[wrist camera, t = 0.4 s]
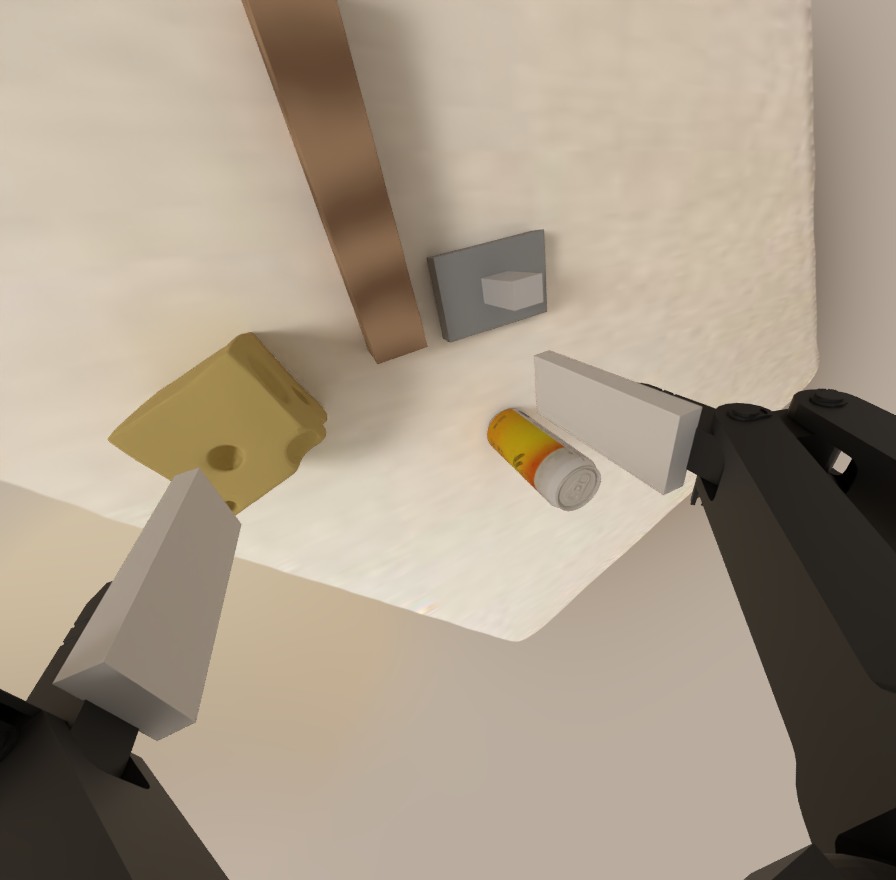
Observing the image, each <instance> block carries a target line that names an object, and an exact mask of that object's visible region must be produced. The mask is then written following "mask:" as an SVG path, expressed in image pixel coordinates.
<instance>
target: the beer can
mask: <svg viewBox="0 0 896 880" xmlns="http://www.w3.org/2000/svg"><path fill="white" fill-rule="evenodd" d="M487 438H488V441H489V443H490V445H491V446H492V447H493V448H494V449H495V450H496V451H497V452H498V453H499V454H500V455H501V456H502V457H503V458H504V459H505V460H506V461H507V462H508V463H509V464H510V465H511V466H512V467H513V468H514V469H515V470H516V471H518V472H519V473H520V474H521V475H522V476H523V477H524V478H525V479H526V480H527V481H528V482H529V483H530V484H531V485H532V486H533V487H534V488H535V489H536V490H537V491H538V492H539V493H540V494H541V495H542V496H543V497H544V498H545V499H546V500H547V501H548V502H549V503H550V504H551V505H552V506H554V507H558V508H561V509H562V510H565V511H573V510H576V509H579V508H581V507H582V506H584V505H585V504H587V503H588V502H589V501H590V500H591V499H592V498H593V497H594V495H595V494H596V492H597V490H598V488H599V486H600V482H601V475H600V472H599V471H598V470H597V468H596V466H595V464H594V462H593V461H592V460H591V459H589V458H588V457H586V456H585V455H583V454H582V453H581V452H579V451H578V450H576V449H575V448H573V447H572V446H570V445H569V444H568V443H566V442H565V441H563V440H562V439H560V438H559V437H558V436H556V435H555V434H553V433H552V432H550V431H549V430H548V429H546V428H545V427H543V426H542V425H540V424H539V423H537V422H536V421H535V420H533V419H532V418H530V417H529V416H527V415H526V414H525V413H523V412H522V411H520V410H518V409H507V410H504V411H502V412H500V413H498V414H497V415H496V416H495V417H494V418H493V419H492V420H491V422H490V424H489V427H488V432H487Z"/></svg>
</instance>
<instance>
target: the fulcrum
mask: <svg viewBox="0 0 896 880" xmlns="http://www.w3.org/2000/svg"><path fill="white" fill-rule="evenodd" d="M427 261H428V266H429V271H430V276H431V281H432V286H433V290H434V295H435V300H436V305H437V310H438V315H439V320H440V325H441V329H442V334H443V339H445V340H447V341H448V342H453V341H456V340H459V339H462V338H466V337H469V336H472V335H475V334H478V333H481V332H484V331H488V330H491V329H494V328H497V327H500V326H503V325H506V324H510V323H513V322H516V321H519V320H522V319H525V318H528V317H532V316H535V315H538V314H541V313H544V312H547V298H546V271H545V243H544V229H543V230H535V231H530V232H526V233H522V234H518V235H514V236H510V237H506V238H503V239H499V240H495V241H491V242H487V243H483V244H479V245H475V246H471V247H467V248H464V249H460V250H456V251H452V252H448V253H444V254H440V255H436V256H432V257H428V258H427Z"/></svg>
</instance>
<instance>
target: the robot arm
mask: <svg viewBox="0 0 896 880" xmlns="http://www.w3.org/2000/svg"><path fill="white" fill-rule="evenodd" d="M534 365H535V385H536V404H537V413H538V414H540V415H542V416H543V417H545V418H546V419H548V420H549V421H551V422H552V423H554V424H555V425H557V426H558V427H560V428H561V429H563V430H564V431H566V432H568V433H569V434H571V435H572V436H574V437H575V438H577V439H578V440H580V441H581V442H583V443H584V444H586V445H587V446H589V447H591V448H592V449H594V450H595V451H597V452H598V453H600V454H601V455H603V456H604V457H606V458H607V459H609V460H610V461H612V462H613V463H615V464H617V465H618V466H620V467H621V468H623V469H624V470H626V471H627V472H629V473H630V474H632V475H633V476H635V477H636V478H638V479H639V480H641V481H643V482H644V483H646V484H647V485H649V486H650V487H652V488H653V489H655V490H656V491H658V492H659V493H661V494H662V495H665V494H667V493H669V492H671V491H673V490H675V489H677V488H680V487H682V486H683V484H684V480H685V476H686V472H687V470H689V471H691V472H693V473H695V474H696V475H697V478H696V482H695V485H694V489H693V493H692V496H691V505H695V503H696V500H697V498H698V497H700V498H701V501H702V504H701V505H702V506H703V507H704V509H705V512H706V515H707V517H708V520H709V523H710V525H711V528H712V531H713V534H714V536H715V539H716V541H717V544H718V547H719V550H720V552H721V555H722V557H723V560H724V563H725V566H726V568H727V571H728V574H729V576H730V579H731V581H732V584H733V587H734V590H735V592H736V595H737V598H738V601H739V603H740V606H741V609H742V611H743V614H744V616H745V619H746V622H747V625H748V627H749V630H750V633H751V635H752V638H753V641H754V643H755V646H756V649H757V651H758V654H759V656H760V659H761V662H762V665H763V667H764V670H765V673H766V675H767V678H768V681H769V683H770V686H771V688H772V692H773V694H774V697H775V700H776V702H777V705H778V708H779V710H780V713H781V715H782V718H783V720H784V724H785V726H786V729H787V732H788V734H789V737H790V740H791V742H792V745H793V749H794V752H795V758H796V790H797V796H798V802H799V805H800V809H801V812H802V816H803V819H804V822H805V825H806V828H807V831H808V834H809V836H810V839H811V842H812V844H811V845H808V846H807V847H804V848H803V849H800V850H798V851H796V852H794V853H792V854H790V855H788V856H786V857H784V858H782V859H780V860H778V861H776V862H773V863H771V864H770V865H768V866H765V867H763V868H761V869H759V870H757V871H755V872H753V873H751V874H750V875H749V876H748V877H746V878H745V879H744V880H896V415H894V414H891V413H890V412H888V411H886V410H883V409H881V408H879V407H877V406H875V405H873V404H871V403H869V402H867V401H865V400H862V399H860V398H858V397H855V396H853V395H850V394H847V393H843V392H838V391H836V390H832V389H828V390H826V389H816V390H804V391H800V392H798V393H796V394H795V395H794V396H793V399H792V401H791V404H790V406H789V409H784V410H778V411H771V410H769V409H767V408H764V407H761V406H757V405H752V404H744V403H732V404H725V405H722V406H719V407H718V408H717V409H715V408H713V407H710V406H707V405H704V404H702V403H699V402H696V401H693V400H691V399H688V398H685V397H682V396H680V395H677V394H676V395H674V394H673V393H671V392H668V391H666V390H664V391H662V389H660V388H657V387H655V386H652V385H649V384H644V383H638V382H634V381H631V380H629V379H626V378H623V377H620V376H618V375H615V374H612V373H610V372H607V371H604V370H601V369H599V368H596V367H593V366H591V365H588V364H585V363H582V362H580V361H577V360H574V359H572V358H569V357H566V356H564V355H561V354H558V353H555V352H553V351H550V350H549V351H546V352H543V353H540V354H537V355H534ZM841 451H843V452H844V453H845V454H847V455H848V456H850V457H851V458H852V460H851V462H850V463H849V465H848V467H847V469H846V470H845V471H844V473H843V474H842V473H840V472H838V471H836V470H835V469H834V468H832V467H833V465H834V463H835V462H836V460H837V458H838V456H839V454H840V452H841ZM240 528H241V523H240V522H239V520H238V519H237V518H236V516H235V515H234V514H233V512H232V511H231V509H230V508H229V507H228V505H227V504H226V503H225V501H224V500H223V499H222V497H221V496H220V495H219V493H218V492H217V490H216V489H215V488H214V486H213V485H212V484H211V482H210V481H209V480H208V478H207V477H206V476H205V474H204V473H203V471H202V470H201V469H200V467H199V468H196V469H193V470H190V471H187V472H184V473H181V474H178V475H175V476H174V478H173V479H172V481H171V483H170V485H169V486H168V488H167V490H166V491H165V493H164V495H163V496H162V498H161V500H160V502H159V503H158V505H157V507H156V508H155V510H154V512H153V513H152V515H151V517H150V519H149V520H148V522H147V524H146V525H145V527H144V529H143V530H142V532H141V534H140V536H139V537H138V539H137V541H136V542H135V544H134V546H133V548H132V549H131V551H130V553H129V554H128V556H127V558H126V559H125V561H124V563H123V564H122V566H121V568H120V570H119V571H118V573H117V575H116V576H115V578H114V580H113V581H111V582H108V583H106V584H105V585H104V586H103V587H102V589H101V590H100V591H99V592H98V593H97V594H96V595H95V596H94V597H93V598H92V599H91V600H90V601H89V602H88V603H87V604H86V606H85V607H84V609H83V611H82V612H81V614H80V615H79V617H78V619H77V620H76V622H75V623H74V625H75V627H74V628H71V630H70V631H69V633H68V635H67V636H66V638H65V639H64V641H63V642H64V645H62V646H60V647H59V649H58V651H57V652H56V654H55V656H54V657H53V659H52V660H51V662H50V663H49V665H48V667H47V668H46V670H45V671H44V673H43V675H42V676H41V678H40V680H39V681H38V683H37V684H36V686H35V687H34V689H33V691H32V692H31V694H30V695H29V697H28V699H27V700H26V701H24V700H22V699H20V698H18V697H16V696H14V695H12V694H10V693H8V692H6V691H3V690H1V689H0V880H229V879H228V878H227V876H226V875H225V873H224V872H223V871H222V869H221V868H220V867H219V865H218V864H217V862H216V861H215V860H214V858H213V857H212V855H211V854H210V853H209V851H208V850H207V848H206V847H205V845H204V844H203V843H202V841H201V840H200V838H199V837H198V836H197V834H196V833H195V832H194V830H193V829H192V827H191V826H190V825H189V824H188V822H187V820H186V819H185V818H184V816H183V815H182V813H181V812H180V811H179V809H178V808H177V806H176V805H175V804H174V802H173V801H172V800H171V798H170V797H169V795H168V794H167V793H166V791H165V790H164V788H163V787H162V786H161V784H160V783H159V781H158V780H157V779H156V777H155V776H154V775H153V773H152V772H151V770H150V769H149V768H148V766H147V765H146V763H145V762H144V761H143V759H142V758H141V757H139V756H137V755H135V754H133V753H131V751H132V748H133V745H134V742H135V739H136V736H137V734H138V731H140V732H142V733H143V734H145V735H147V736H149V737H151V738H153V739H154V740H156V741H158V740H160V739H162V738H165V737H167V736H168V735H171V734H173V733H175V732H177V731H179V730H181V729H183V728H185V727H187V726H189V725H191V724H193V723H195V722H196V720H197V715H198V711H199V707H200V702H201V698H202V693H203V689H204V684H205V680H206V676H207V672H208V667H209V663H210V659H211V654H212V650H213V645H214V641H215V637H216V632H217V628H218V623H219V619H220V615H221V610H222V606H223V602H224V597H225V593H226V588H227V584H228V580H229V576H230V571H231V567H232V563H233V558H234V554H235V550H236V545H237V541H238V537H239V532H240Z"/></svg>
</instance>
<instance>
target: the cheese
mask: <svg viewBox="0 0 896 880" xmlns="http://www.w3.org/2000/svg"><path fill="white" fill-rule="evenodd" d="M326 420H327V414H326V412H325V410H324V409H323V408H322V406H321V405H320V404H319V403H318V402H317V401H316V400H315V399H314V398H313V397H311V396H310V395H309V394H308V393H307V392H306V391H305V390H304V389H303V388H302V387H301V386H300V385H299V384H298V383H297V382H296V381H295V380H294V378H293V377H292V376H291V375H290V374H289V373H288V372H287V371H286V370H285V369H284V367H283V366H282V365H281V364H280V363H279V362H278V361H277V360H276V359H275V358H274V356H273V355H272V354H271V353H270V352H269V351H268V350H267V349H266V348H265V346H264V345H263V344H262V343H261V342H260V341H259V340H258V338H257V337H256V336H255V335H254V334H253V333H252V332H249V333H245V334H241V335H239V336H237V337H236V338H234V339H233V340H232V341H231V342H230V343H229V344H228V345H227V346H226V347H224V348H222V349H221V350H219V351H218V352H216V353H215V354H213V355H212V356H210V357H209V358H207V359H206V360H204V361H203V362H202V363H200V364H199V365H197V366H196V367H194V368H193V369H191V370H190V371H189V372H187V373H186V374H184V375H183V376H181V377H180V378H178V379H177V380H175V381H174V382H172V383H171V384H169V385H168V386H166V387H165V388H163V389H162V390H160V391H158V392H157V393H156V394H155V395H154V396H152V397H151V398H150V399H149V400H147V401H146V402H145V403H144V404H143V405H141V406H140V407H139V408H138V409H137V410H136V411H135V412H134V413H133V414H131V415H130V416H129V417H128V418H127V419H126V420H125V421H124V422H123V423H122V424H121V425H119V426H118V427H117V428H116V429H115V431H114V432H113V433H112V434H111V435H110V436H109V438H108V441H109V442H110V443H112V444H113V445H115V446H116V447H118V448H119V449H120V450H122V451H123V452H124V453H126V454H128V455H129V456H131V457H132V458H134V459H135V460H137V461H138V462H140V463H142V464H143V465H145V466H147V467H149V468H150V469H152V470H154V471H155V472H157V473H159V474H160V475H162V476H164V477H165V478H167V479H169V480H170V481H172V479H173V478H174V476H175V475H178V474H181V473H184V472H187V471H190V470H193V469H196V468H199V467H200V469H201V470H202V471H203V473H204V474H205V476H206V477H207V478H208V480H209V481H210V482H211V484H212V485H213V486H214V488H215V489H216V490H217V492H218V493H219V495H220V496H221V497H222V499H223V500H224V501H225V503H226V504H227V505H228V507H229V508H230V509H231V511H232V512H233V514H234V515H237V514H238V513H240V512H241V511H242V510H244V509H245V508H246V507H248V506H249V505H251V504H252V503H254V502H255V501H257V500H258V499H259V498H261V497H262V496H264V495H265V494H266V493H268V492H269V491H270V490H272V489H273V488H274V487H276V486H277V485H279V484H280V483H282V482H283V481H284V480H286V479H287V478H289V477H290V476H291V475H293V474H294V473H295V472H296V471H297V469H298V467H299V465H300V462H301V460H302V458H303V456H304V455H305V454H306V453H307V452H308V451H309V450H310V449H311V448H313V447H314V446H316V445H317V444H319V443H320V442H321V441H322V440H323V439H324V438H325V436H326V429H325V427H324V426H323V423H325V422H326Z"/></svg>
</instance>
